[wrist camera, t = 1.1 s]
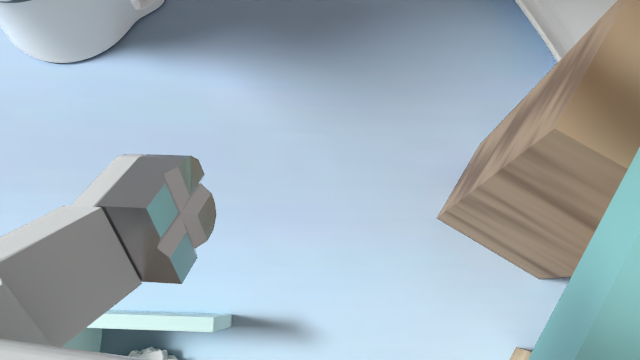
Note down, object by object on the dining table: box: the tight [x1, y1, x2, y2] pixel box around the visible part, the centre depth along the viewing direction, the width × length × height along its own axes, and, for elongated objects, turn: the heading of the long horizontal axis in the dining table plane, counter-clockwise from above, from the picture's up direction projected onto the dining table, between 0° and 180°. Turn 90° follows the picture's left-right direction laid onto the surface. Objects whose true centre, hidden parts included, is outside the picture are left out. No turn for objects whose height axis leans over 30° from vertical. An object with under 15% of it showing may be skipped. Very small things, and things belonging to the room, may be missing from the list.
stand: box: [437, 0, 640, 279], centre depth 35 cm, size 8×10×26 cm
